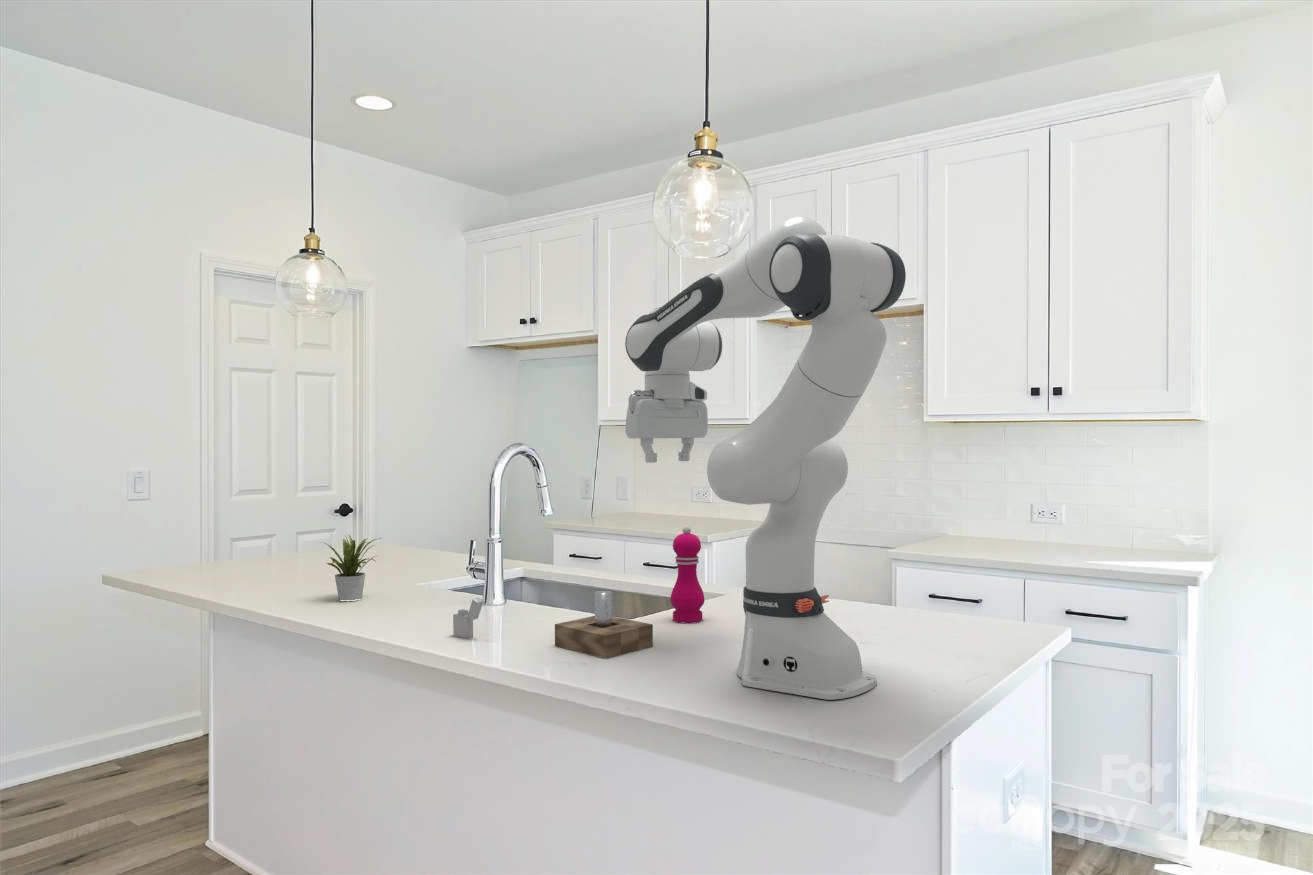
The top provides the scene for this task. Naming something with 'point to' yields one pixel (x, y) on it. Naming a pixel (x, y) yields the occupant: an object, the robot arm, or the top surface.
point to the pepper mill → (687, 579)
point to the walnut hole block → (604, 636)
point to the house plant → (350, 570)
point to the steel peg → (603, 609)
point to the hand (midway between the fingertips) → (668, 461)
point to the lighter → (466, 619)
